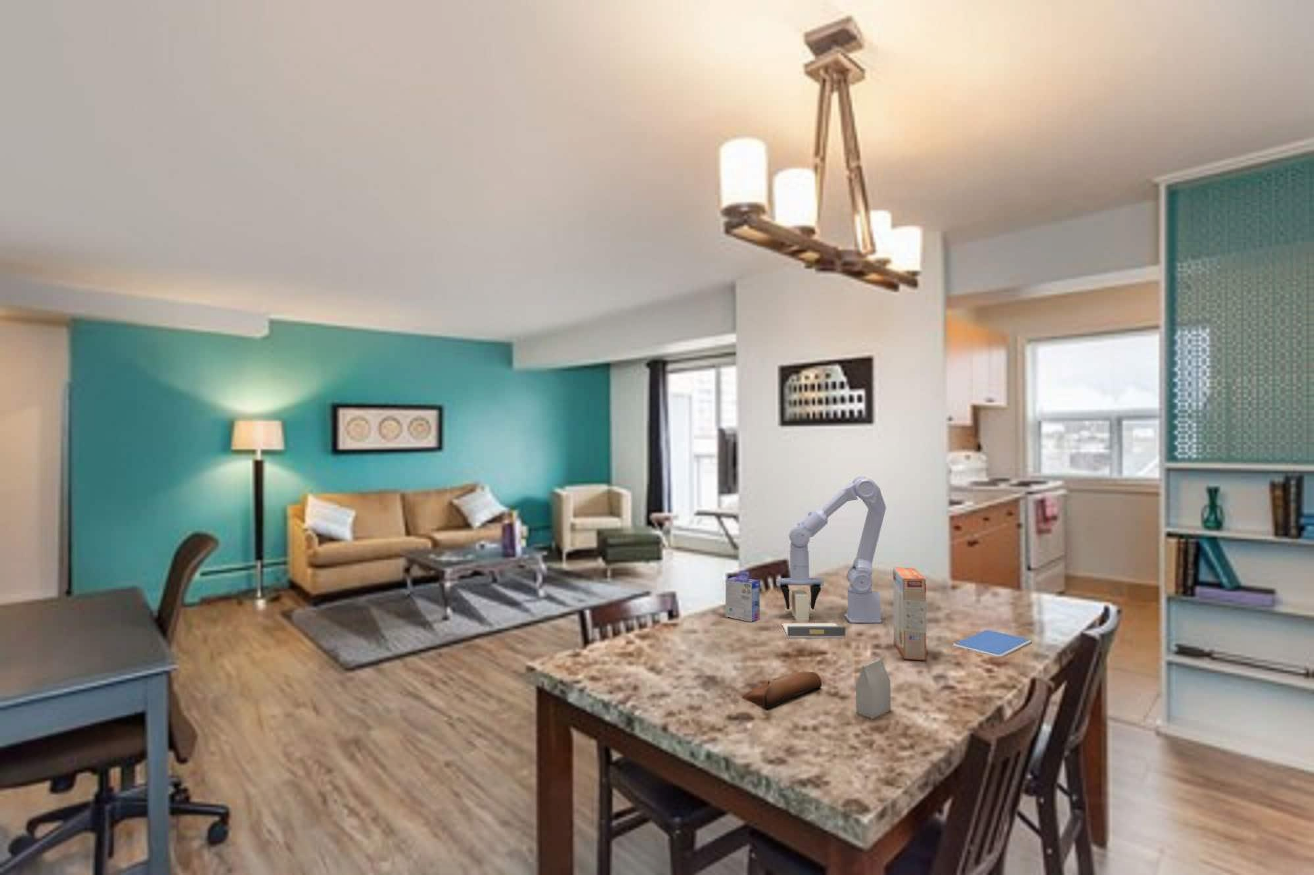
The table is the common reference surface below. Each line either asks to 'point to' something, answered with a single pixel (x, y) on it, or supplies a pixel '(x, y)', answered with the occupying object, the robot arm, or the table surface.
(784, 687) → the sunglasses case
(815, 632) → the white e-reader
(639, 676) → the table surface
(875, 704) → the grey milk carton
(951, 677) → the table surface
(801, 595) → the carton
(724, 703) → the table surface
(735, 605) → the ink cartridge box
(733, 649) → the table surface
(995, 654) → the tablet computer
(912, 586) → the cracker box
